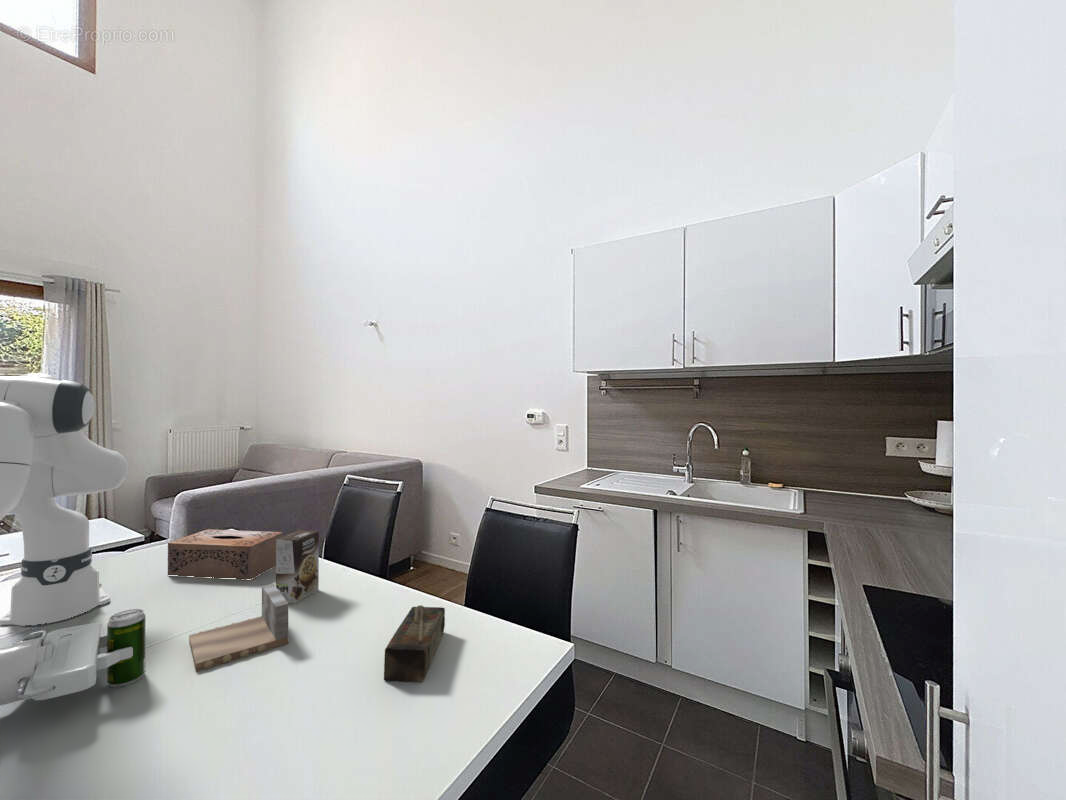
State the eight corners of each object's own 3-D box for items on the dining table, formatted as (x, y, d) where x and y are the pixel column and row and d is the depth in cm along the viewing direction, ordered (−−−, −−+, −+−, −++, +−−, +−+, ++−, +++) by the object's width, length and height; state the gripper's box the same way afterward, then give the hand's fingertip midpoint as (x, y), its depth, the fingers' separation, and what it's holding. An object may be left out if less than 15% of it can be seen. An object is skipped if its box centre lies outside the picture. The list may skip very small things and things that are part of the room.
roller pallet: (189, 641, 100) (189, 601, 100) (273, 619, 111) (273, 583, 111) (196, 672, 89) (196, 627, 89) (288, 644, 100) (288, 604, 100)
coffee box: (296, 604, 119) (296, 540, 119) (274, 601, 120) (274, 538, 120) (319, 589, 128) (320, 530, 128) (299, 587, 129) (299, 529, 129)
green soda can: (141, 668, 91) (142, 605, 90) (148, 678, 87) (148, 614, 87) (104, 680, 86) (104, 615, 86) (109, 692, 83) (109, 624, 83)
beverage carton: (446, 632, 105) (446, 603, 105) (425, 685, 86) (425, 649, 86) (411, 632, 105) (411, 602, 105) (381, 684, 86) (382, 648, 86)
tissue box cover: (282, 563, 148) (282, 532, 148) (250, 581, 134) (250, 546, 134) (207, 560, 151) (207, 529, 151) (167, 577, 137) (167, 543, 137)
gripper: (11, 680, 70) (132, 648, 79) (33, 628, 86) (132, 607, 95) (11, 722, 70) (132, 686, 79) (33, 663, 86) (132, 638, 95)
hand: (132, 642), depth 87 cm, fingers open, 5 cm apart
